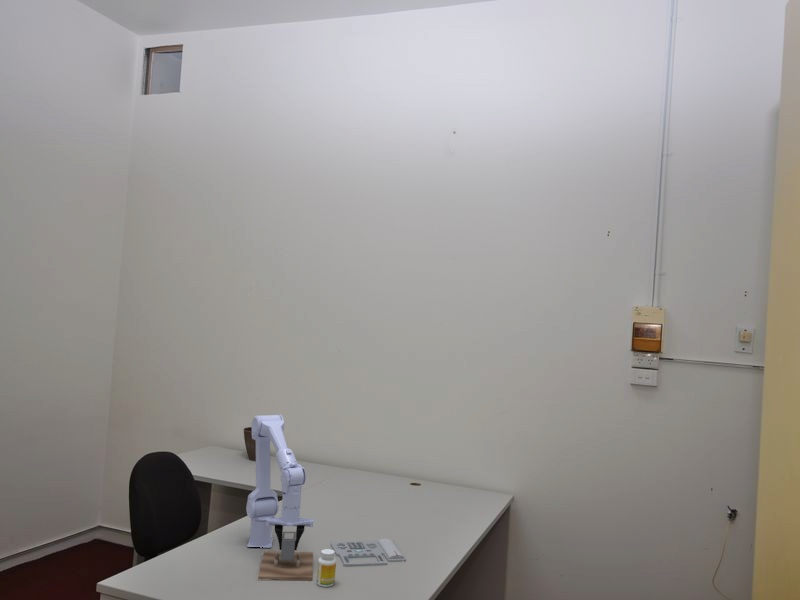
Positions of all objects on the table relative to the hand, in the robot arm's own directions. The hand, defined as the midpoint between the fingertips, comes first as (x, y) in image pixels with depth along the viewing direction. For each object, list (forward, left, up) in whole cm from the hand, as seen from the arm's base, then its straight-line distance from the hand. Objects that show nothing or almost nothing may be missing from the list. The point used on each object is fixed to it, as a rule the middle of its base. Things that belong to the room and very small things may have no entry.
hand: (288, 549), depth 199 cm
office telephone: (-12, +27, -6) cm, 30 cm away
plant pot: (-141, -23, -6) cm, 143 cm away
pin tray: (0, 0, -6) cm, 6 cm away
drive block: (0, 0, -2) cm, 2 cm away
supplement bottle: (+12, +12, -6) cm, 18 cm away
